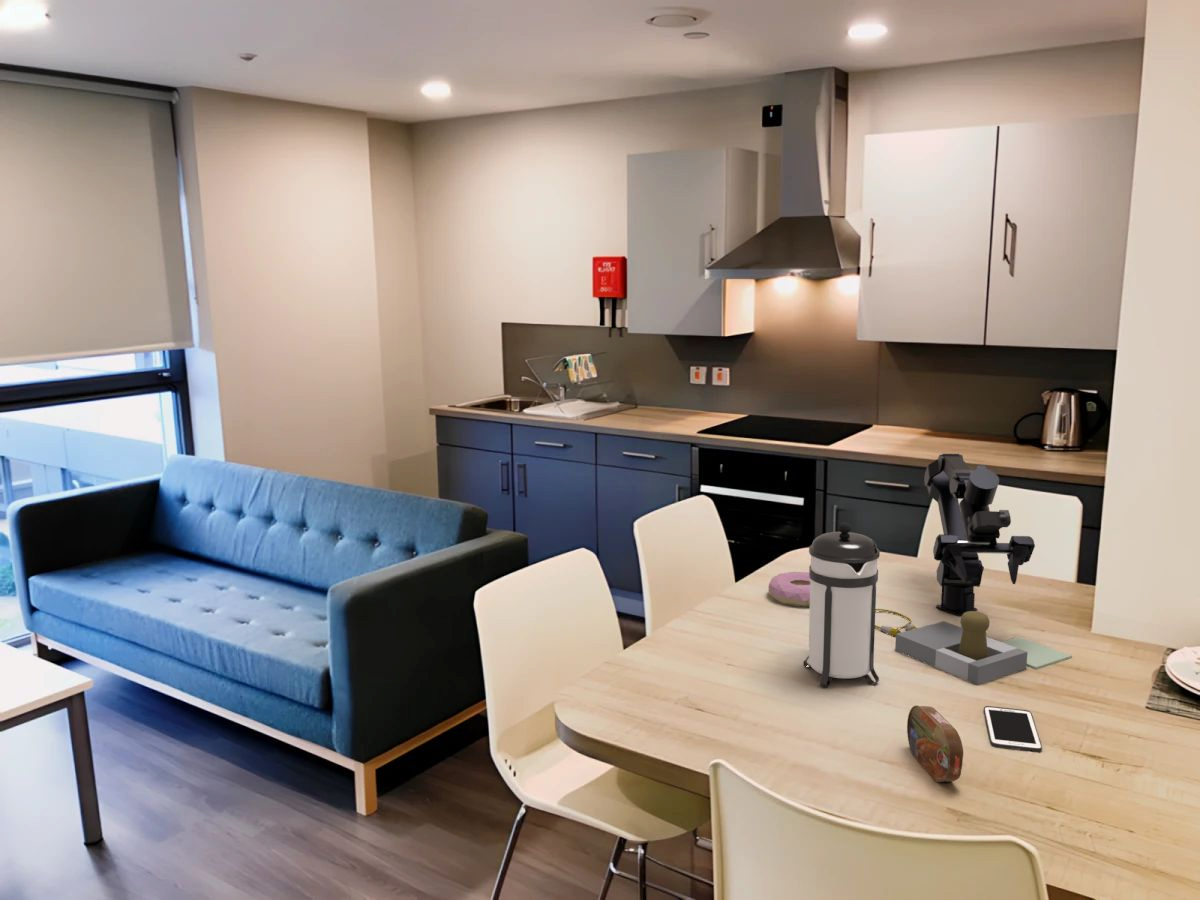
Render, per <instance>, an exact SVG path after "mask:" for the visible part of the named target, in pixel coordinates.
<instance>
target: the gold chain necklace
mask: <svg viewBox="0 0 1200 900" xmlns="http://www.w3.org/2000/svg"><path fill="white" fill-rule="evenodd" d="M875 611H879V612H878V613H882V612H888V613H887V614H890V613H893V614H892V615H895V614H898V615H900V616H902V617H901V618H903V617H905V618H907V619H908V620H909V621H910V622H909V621H908V620H907V619H906V620H907V621H908V623H906V624H904V625H902V626H900V627H896V628H897V629H894V628H895V627H892V626H886V625H881V626H878V625H876V624H875V627H877V628H876V629H879V628H880V631H881V632H882V631H883V633H884V632H885V633H884V634H886V633H888V634H887V635H889V634H890V635H889V636H892V635H893V636H892V637H895V636H896V634H898V633H901V629H898V628H902V629H904V628H905V629H906V630H905V631H909V630H913V629H916V628H917V627H916V626H915V625H912V624H911V623H912V620H911V619H910V618H909V617H908V616H907V615H904V614H902V613H899V612H897V611H893V610H889V609H883V608H875ZM898 615H897V616H898ZM900 616H899V617H900ZM905 618H904V619H905ZM903 627H904V628H903Z"/></svg>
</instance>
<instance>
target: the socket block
mask: <svg viewBox="0 0 1200 900" xmlns="http://www.w3.org/2000/svg"><path fill="white" fill-rule="evenodd" d="M900 632H901V631H900ZM962 632H963V628H962V626H957V625H955V624H953V623H950V622H948V621H944V620H942V621H939V622H936V623H932V624H929V625H923V626H921V627H916V629H913V630H909V631H907V630H905V631H902V632H901V633H898V634H896V637H895V644H894V645H895V646H894V647H895V648H894V651H896V652H898V651H899V652H898V653H900V652H901V653H900V654H903V653H904V654H903V655H905V654H906V655H905V656H907V655H909V656H908V657H910V656H911V657H910V658H912V657H913V659H915V660H917V659H918V661H919V660H920V662H921V663H924V662H925V663H924V664H926V663H927V665H929V666H931V665H932V667H933V666H934V667H935V668H936V669H938V668H939V669H938V670H941V671H944V672H945V671H946V672H945V673H947V674H950V675H952V674H953V676H955V677H957V678H960V679H962V680H965V681H967V682H970V683H972V684H974V685H977V686H978V685H982V684H984V683H988V682H992V681H993V680H996V679H1000V678H1003V677H1005V676H1009V675H1012V674H1016V673H1019V672H1022V671H1024V670H1027V667H1028V666H1027V651H1024V650H1021V649H1018V648H1016V647H1013V646H1010V645H1008V644H1005V643H1002V642H1003V641H999V640H996V639H993V638H991V637H988V636H986V639H987V650H988V657H987V658H984V659H980V660H977V661H976V660H973V659H971V658H968V657H966V656H963V655H961V654H958V652H959V647H960V642H961V637H962Z"/></svg>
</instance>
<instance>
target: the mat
mask: <svg viewBox="0 0 1200 900" xmlns="http://www.w3.org/2000/svg"><path fill="white" fill-rule="evenodd" d="M1001 642H1002V643H1005V644H1008V645H1010V646H1013V647H1016V648H1018V649H1021V650H1024V651H1027V667H1030V668H1032V669H1034V670H1038V669H1041V668H1045V667H1047V666H1050V665H1053V664H1056V663H1059V662H1062V661H1065V660H1068V659H1071V658H1073V655H1071V654H1069V653H1065V652H1063V651H1060V650H1057V649H1054V648H1052V647H1049V646H1046V645H1043V644H1041V643H1037V642H1035V641H1032V640H1030V639H1027V638H1025V637H1021V636H1017V637H1014V638H1011V639H1009V640H1004V641H1001Z"/></svg>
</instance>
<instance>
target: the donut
mask: <svg viewBox="0 0 1200 900" xmlns="http://www.w3.org/2000/svg"><path fill="white" fill-rule="evenodd" d="M768 593H769V595H770V597H771V598H773V599H775V600H776V601H777V600H778V602H779V603H781V604H782V603H783V605H787V604H789V605H788V606H793V605H796V606H795V607H800V606H805V607H810V577H809V571H808V572H806V571H789V572H782V573H779V574H776V575H775V576H773V577H772V578H771V580H770V581H769V583H768Z"/></svg>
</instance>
